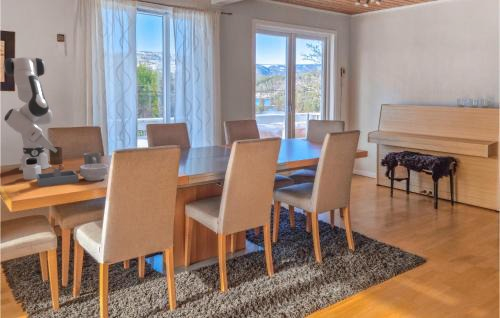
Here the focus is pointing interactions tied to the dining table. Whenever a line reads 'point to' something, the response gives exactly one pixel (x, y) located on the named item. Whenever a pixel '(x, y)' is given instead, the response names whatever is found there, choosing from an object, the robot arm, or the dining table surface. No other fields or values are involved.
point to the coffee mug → (92, 158)
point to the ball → (61, 167)
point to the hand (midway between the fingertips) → (55, 150)
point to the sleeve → (56, 156)
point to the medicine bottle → (31, 168)
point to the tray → (57, 177)
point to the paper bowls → (93, 171)
